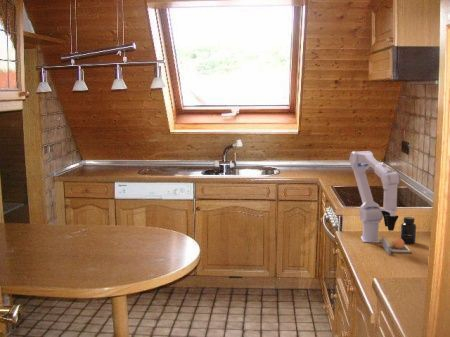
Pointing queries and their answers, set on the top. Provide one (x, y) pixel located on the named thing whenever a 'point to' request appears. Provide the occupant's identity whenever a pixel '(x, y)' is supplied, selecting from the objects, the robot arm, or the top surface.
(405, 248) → the mat
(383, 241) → the grey wall
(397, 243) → the coral ball
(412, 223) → the supplement bottle
